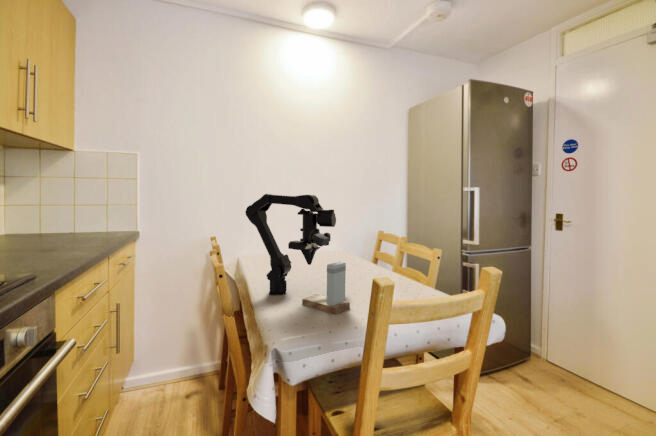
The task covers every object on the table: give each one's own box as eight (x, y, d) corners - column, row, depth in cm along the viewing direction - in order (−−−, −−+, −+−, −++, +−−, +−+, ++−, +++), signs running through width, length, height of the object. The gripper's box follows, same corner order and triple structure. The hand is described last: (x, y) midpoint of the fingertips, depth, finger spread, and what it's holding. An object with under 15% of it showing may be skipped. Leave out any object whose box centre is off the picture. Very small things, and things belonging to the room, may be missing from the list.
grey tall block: (326, 303, 107) (326, 264, 106) (338, 299, 113) (338, 261, 112) (333, 305, 105) (333, 265, 105) (345, 300, 111) (345, 262, 110)
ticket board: (302, 304, 114) (302, 298, 114) (316, 299, 120) (316, 293, 120) (336, 314, 104) (336, 308, 104) (349, 308, 110) (349, 302, 110)
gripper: (309, 228, 110) (308, 271, 111) (339, 225, 125) (339, 263, 125) (287, 227, 117) (287, 267, 118) (318, 224, 131) (318, 260, 132)
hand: (309, 264), depth 123 cm, fingers closed
